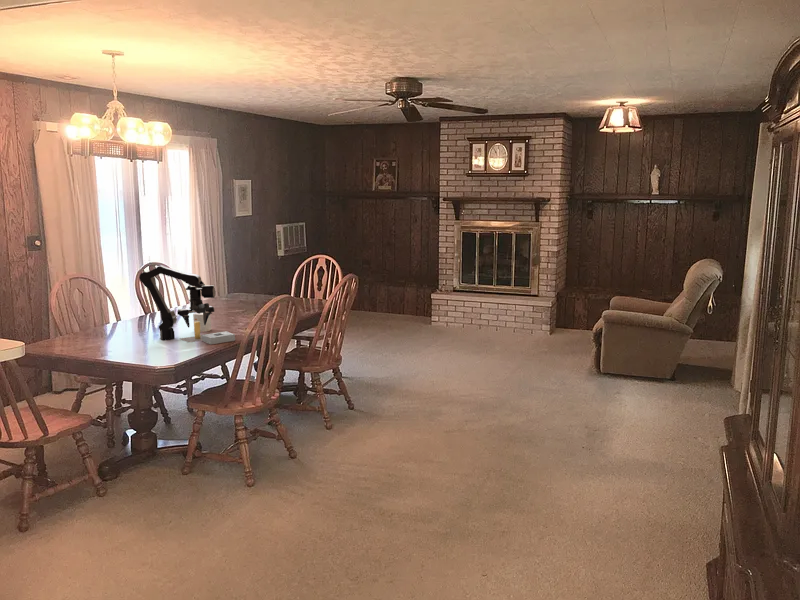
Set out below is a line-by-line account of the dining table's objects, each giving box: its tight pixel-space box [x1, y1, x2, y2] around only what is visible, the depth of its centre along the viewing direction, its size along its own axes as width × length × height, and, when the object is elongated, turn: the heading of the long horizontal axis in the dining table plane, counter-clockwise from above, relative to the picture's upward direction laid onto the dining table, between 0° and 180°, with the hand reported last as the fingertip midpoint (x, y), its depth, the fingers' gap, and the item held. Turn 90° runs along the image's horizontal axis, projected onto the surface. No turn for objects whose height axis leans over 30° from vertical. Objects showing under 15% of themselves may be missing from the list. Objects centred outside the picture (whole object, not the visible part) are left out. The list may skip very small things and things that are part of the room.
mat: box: [179, 334, 203, 343], centre depth 360 cm, size 14×12×1 cm
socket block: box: [201, 330, 236, 345], centre depth 355 cm, size 14×10×4 cm
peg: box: [193, 321, 201, 339], centre depth 360 cm, size 3×3×9 cm
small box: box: [192, 312, 212, 333], centre depth 381 cm, size 8×6×10 cm
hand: (196, 326), depth 360 cm, fingers open, 9 cm apart
